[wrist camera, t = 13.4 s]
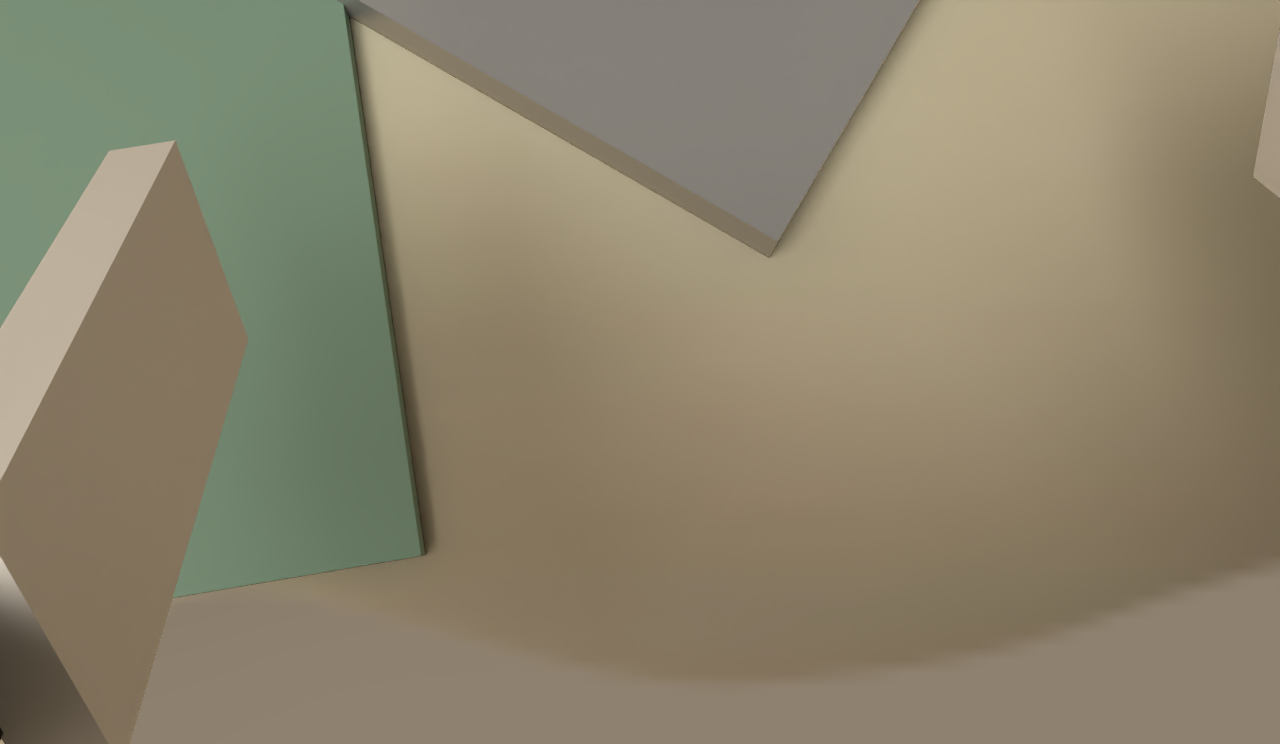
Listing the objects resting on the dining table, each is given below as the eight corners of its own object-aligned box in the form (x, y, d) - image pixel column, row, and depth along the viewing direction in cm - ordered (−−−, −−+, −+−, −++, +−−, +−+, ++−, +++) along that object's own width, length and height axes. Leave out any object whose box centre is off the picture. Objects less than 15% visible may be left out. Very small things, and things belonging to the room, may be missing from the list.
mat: (425, 555, 21) (421, 555, 21) (-274, 673, 21) (-295, 676, 20) (335, -78, 23) (329, -92, 23) (-313, 16, 23) (-333, 4, 22)
